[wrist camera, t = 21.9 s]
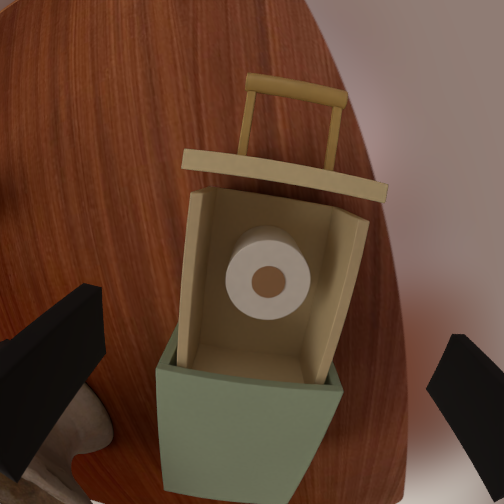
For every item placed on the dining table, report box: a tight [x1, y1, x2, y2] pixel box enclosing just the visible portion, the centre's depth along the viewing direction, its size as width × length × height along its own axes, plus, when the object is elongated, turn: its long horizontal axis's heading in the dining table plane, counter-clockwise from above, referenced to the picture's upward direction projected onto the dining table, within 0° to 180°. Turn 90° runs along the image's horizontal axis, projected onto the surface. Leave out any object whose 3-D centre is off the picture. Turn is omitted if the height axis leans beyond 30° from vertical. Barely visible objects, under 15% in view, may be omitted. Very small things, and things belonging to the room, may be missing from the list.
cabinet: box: [156, 322, 344, 504], centre depth 27 cm, size 19×14×10 cm
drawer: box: [177, 73, 388, 385], centre depth 22 cm, size 24×12×8 cm, turn 171°
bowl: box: [0, 382, 113, 504], centre depth 24 cm, size 26×25×20 cm
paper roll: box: [226, 225, 311, 320], centre depth 23 cm, size 6×6×6 cm
